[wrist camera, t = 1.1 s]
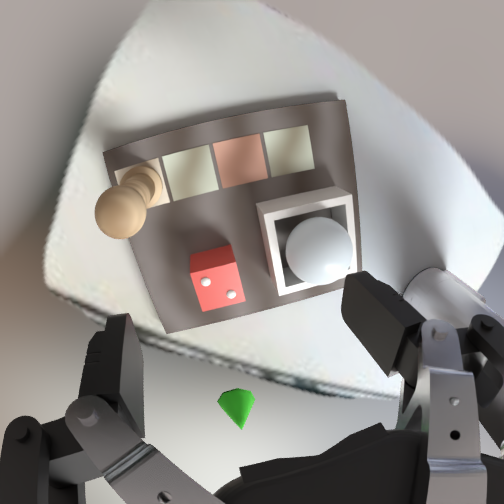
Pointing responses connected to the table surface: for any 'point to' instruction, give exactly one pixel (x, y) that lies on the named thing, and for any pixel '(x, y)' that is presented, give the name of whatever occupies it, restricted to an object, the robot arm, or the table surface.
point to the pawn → (128, 202)
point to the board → (234, 200)
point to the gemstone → (237, 404)
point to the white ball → (319, 251)
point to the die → (216, 278)
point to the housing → (299, 205)
